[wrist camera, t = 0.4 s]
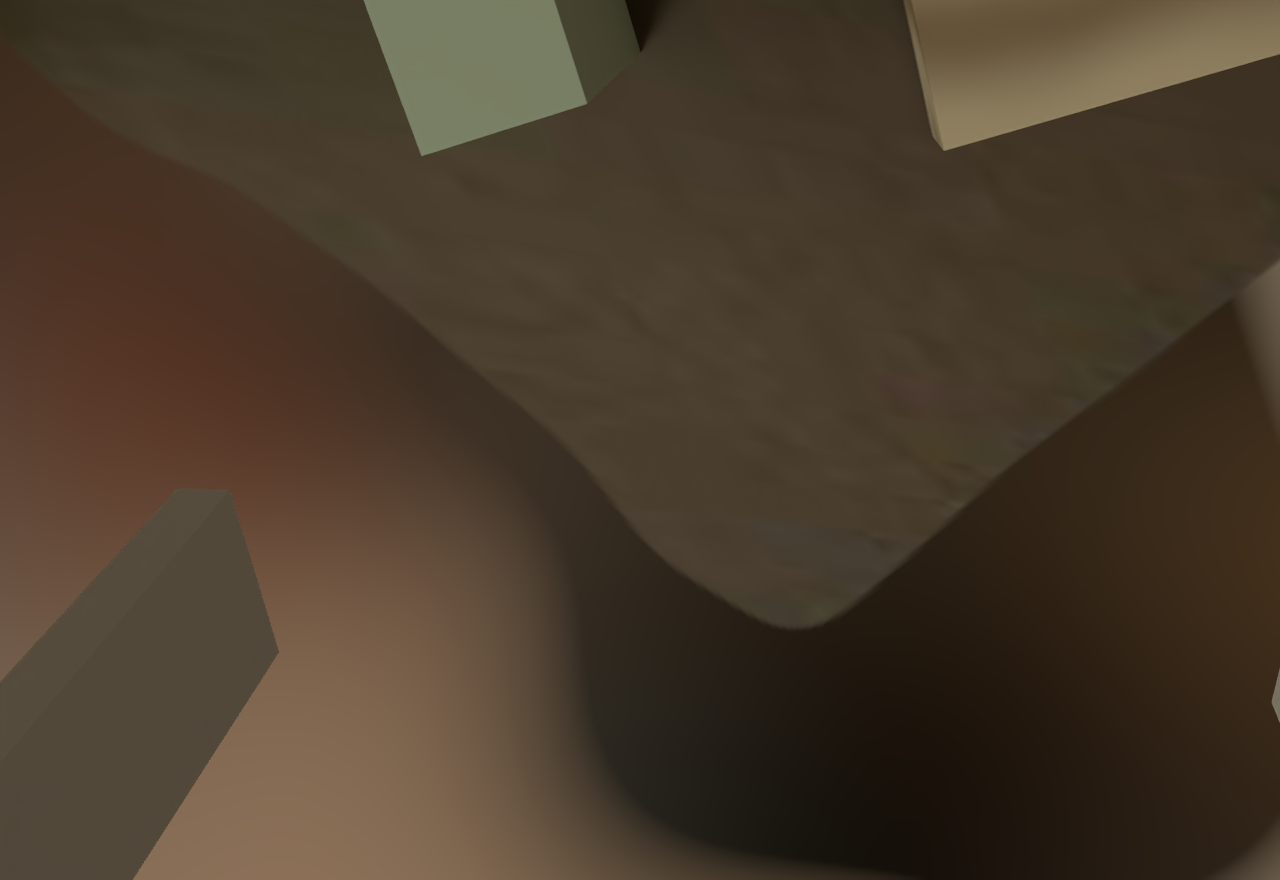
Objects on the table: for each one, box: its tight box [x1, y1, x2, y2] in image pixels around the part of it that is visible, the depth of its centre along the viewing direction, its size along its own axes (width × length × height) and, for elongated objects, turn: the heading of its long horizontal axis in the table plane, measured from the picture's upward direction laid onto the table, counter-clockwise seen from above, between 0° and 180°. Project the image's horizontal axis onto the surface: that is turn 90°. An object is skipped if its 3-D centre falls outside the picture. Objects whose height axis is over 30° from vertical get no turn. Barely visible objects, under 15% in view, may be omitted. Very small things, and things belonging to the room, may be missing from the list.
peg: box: [364, 0, 641, 156], centre depth 32 cm, size 4×4×12 cm
